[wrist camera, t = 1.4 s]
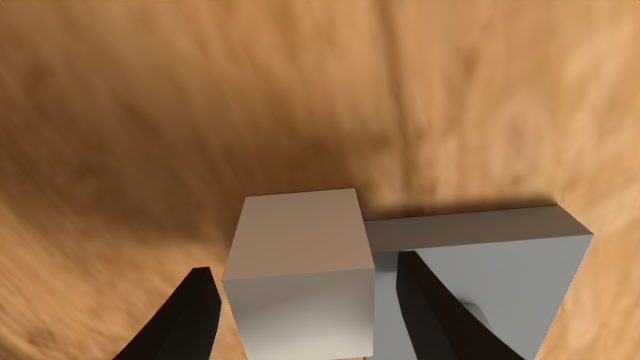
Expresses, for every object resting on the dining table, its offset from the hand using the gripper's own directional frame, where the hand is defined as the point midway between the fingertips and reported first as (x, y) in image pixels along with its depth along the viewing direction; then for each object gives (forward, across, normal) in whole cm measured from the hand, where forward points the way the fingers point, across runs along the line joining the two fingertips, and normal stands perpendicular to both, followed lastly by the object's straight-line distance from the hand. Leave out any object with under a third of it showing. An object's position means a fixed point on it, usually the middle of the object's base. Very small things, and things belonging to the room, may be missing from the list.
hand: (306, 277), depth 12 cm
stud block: (+3, -7, +4) cm, 9 cm away
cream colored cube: (+3, 0, 0) cm, 3 cm away
